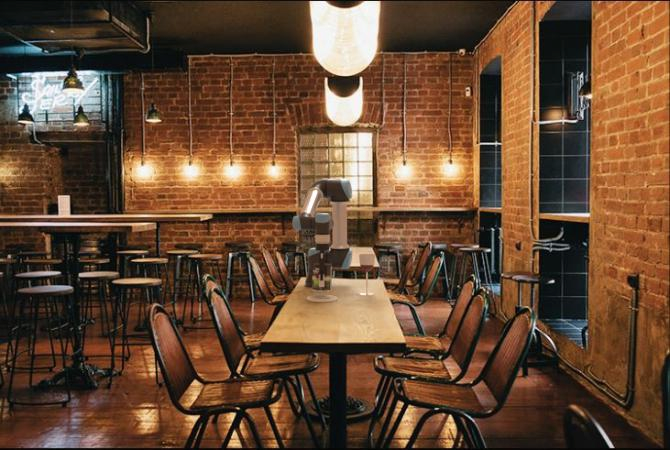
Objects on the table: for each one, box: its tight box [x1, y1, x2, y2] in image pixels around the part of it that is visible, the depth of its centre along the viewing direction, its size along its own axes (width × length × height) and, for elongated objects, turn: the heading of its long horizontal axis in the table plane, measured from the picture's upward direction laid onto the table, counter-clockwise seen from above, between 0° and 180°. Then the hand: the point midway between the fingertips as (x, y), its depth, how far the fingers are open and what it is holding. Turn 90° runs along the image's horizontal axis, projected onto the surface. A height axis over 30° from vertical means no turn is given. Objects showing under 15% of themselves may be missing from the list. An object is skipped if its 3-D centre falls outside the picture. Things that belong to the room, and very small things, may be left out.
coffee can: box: [311, 263, 333, 293], centre depth 312 cm, size 10×10×14 cm
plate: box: [306, 294, 338, 303], centre depth 313 cm, size 16×16×1 cm
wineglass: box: [358, 253, 376, 296], centre depth 332 cm, size 9×10×22 cm
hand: (322, 285), depth 313 cm, fingers closed on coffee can, 10 cm apart
